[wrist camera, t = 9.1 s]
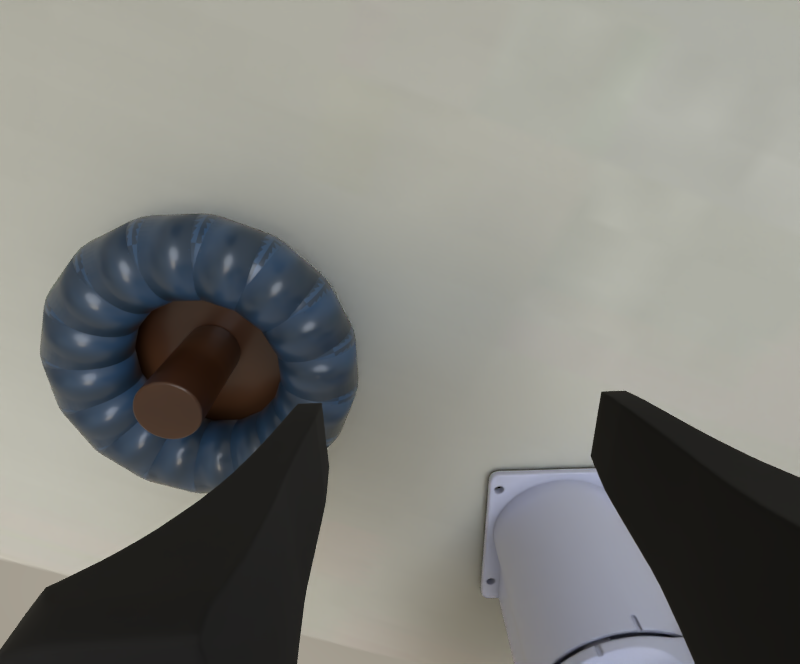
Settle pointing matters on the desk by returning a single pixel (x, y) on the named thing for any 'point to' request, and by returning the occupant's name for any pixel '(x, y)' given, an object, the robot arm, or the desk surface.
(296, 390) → the ring
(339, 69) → the desk surface
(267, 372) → the peg stand
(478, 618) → the desk surface
